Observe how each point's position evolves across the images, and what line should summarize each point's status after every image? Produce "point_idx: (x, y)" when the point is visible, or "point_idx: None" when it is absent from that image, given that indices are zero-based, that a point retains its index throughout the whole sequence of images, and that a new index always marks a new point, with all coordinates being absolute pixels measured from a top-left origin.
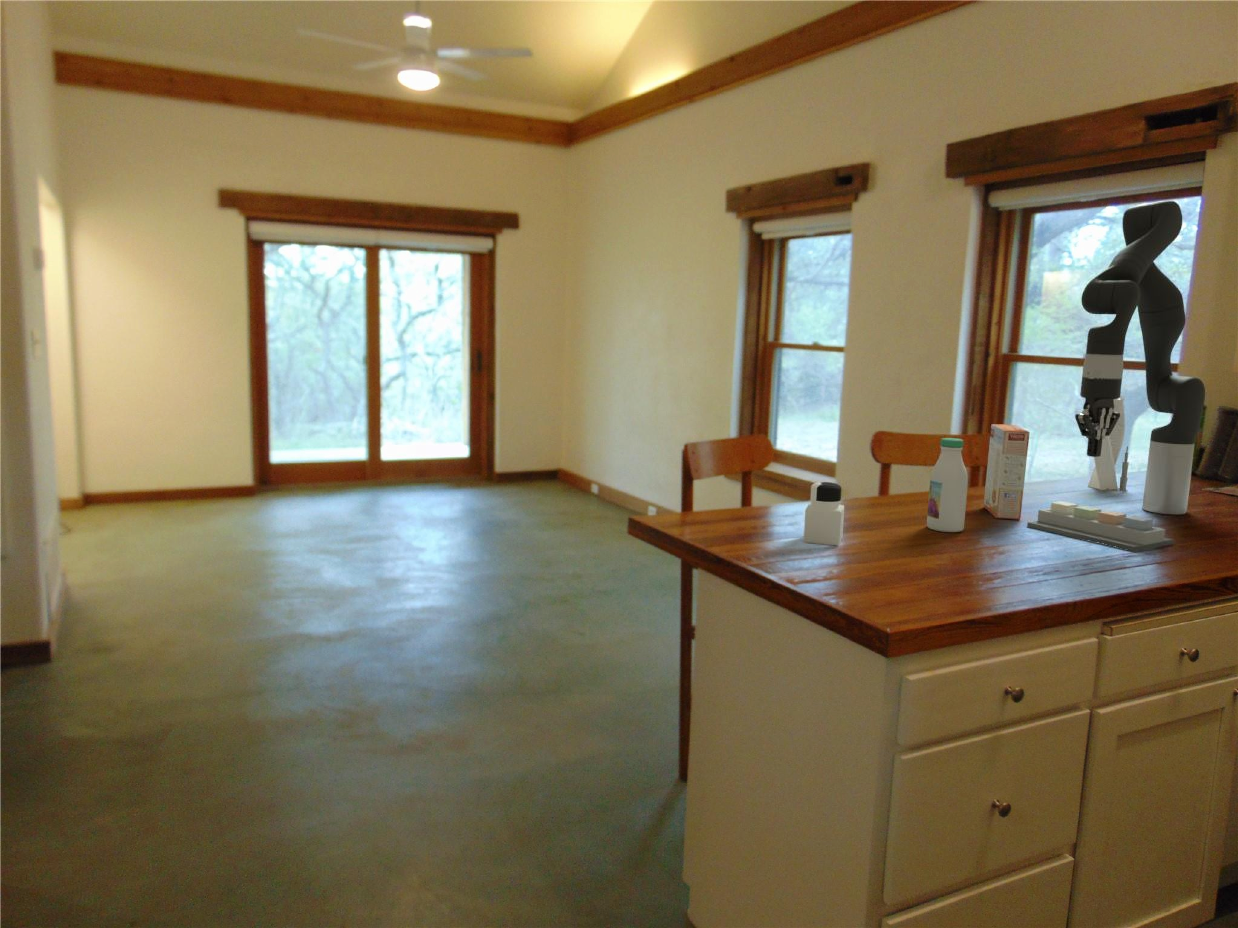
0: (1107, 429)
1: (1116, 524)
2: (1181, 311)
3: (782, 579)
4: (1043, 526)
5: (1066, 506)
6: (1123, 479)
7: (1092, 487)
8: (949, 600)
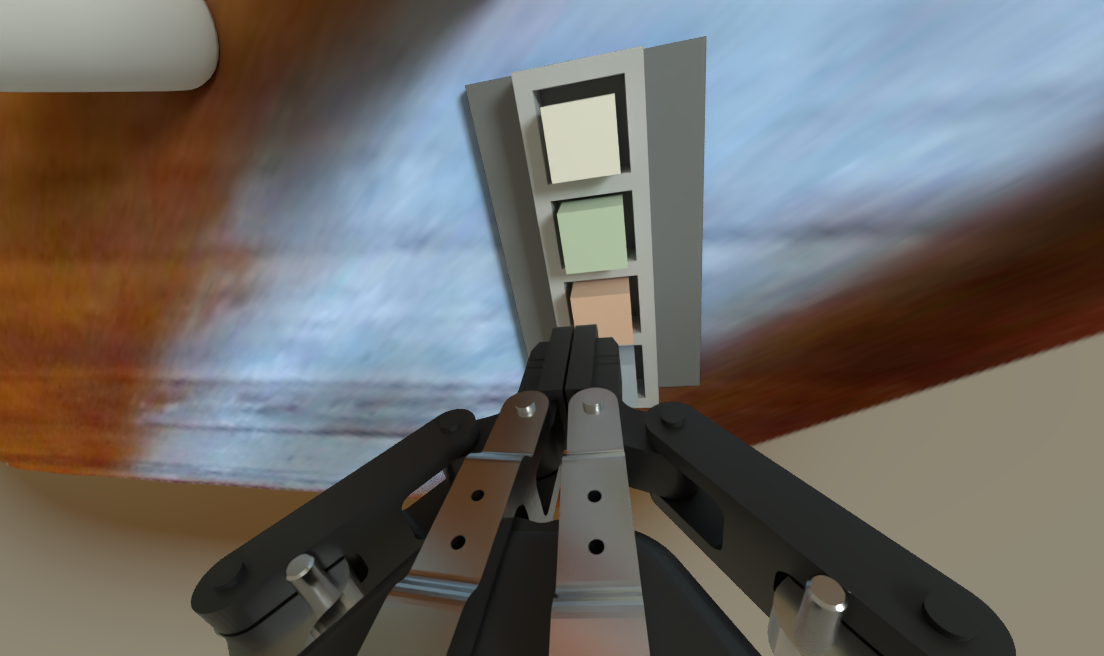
0: (673, 513)
1: None
2: None
3: None
4: (481, 152)
5: (552, 180)
6: None
7: None
8: (83, 435)
